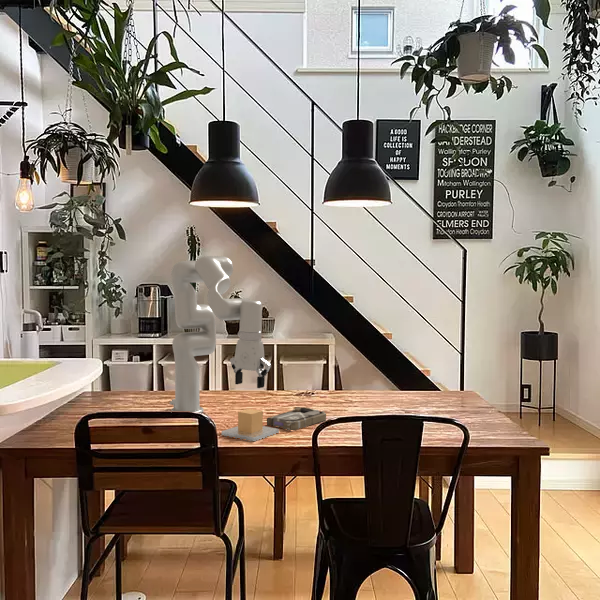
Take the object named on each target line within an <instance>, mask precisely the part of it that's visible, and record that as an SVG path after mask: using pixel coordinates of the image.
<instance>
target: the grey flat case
mask: <svg viewBox="0 0 600 600" xmlns="http://www.w3.org/2000/svg"><path fill="white" fill-rule="evenodd" d="M326 420H327V413H326V412H325V411H324V410H323V411H320V410H318V409H313V408H310V407H303V406H302V407H301V406H297V407H295V408H294V409H292V410H289V411H286V412H283V413H278V414H275V415H273V416H270V417H266V426H268V425H271V426H270V427H275V426H278V427H277V428H279V427H283V428H282V429H283V430H284V429H287V430H295V431H297V430H296V429H298V430H300V429H299V428H301V429H303V427H304V428H307V427H309V425H310V426H312V425H314V424H315V425H316V424H319V423H321V422H325V421H326ZM272 425H273V426H272ZM306 426H307V427H306ZM287 430H286V431H287Z"/></svg>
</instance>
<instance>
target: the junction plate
mask: <svg viewBox="0 0 600 600" xmlns="http://www.w3.org/2000/svg"><path fill="white" fill-rule="evenodd" d="M279 430H280V429H279V428H276V427H272V426H265V425H263V430H260V431H257V432H253V433H249V432H243V431H238V425H237V426H235V427H230V428H228V429H224V430H221V436H222V435H224V437H227V436H229V437H228V438H232V437H235V438H234V439H237V438H240V439H239V440H242V439H246V440H245V441H247V440H250V441H249V442H251V441H255V442H257V441H260V440H263V439H266V438H268V437H267V436H269V437H271V436H270V435H272V436H274V435H273V434H275V435H277V434H276V433H278V434H279V433H280V431H279ZM265 437H266V438H265ZM262 438H263V439H262ZM259 439H260V440H259ZM256 440H257V441H256Z"/></svg>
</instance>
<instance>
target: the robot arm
mask: <svg viewBox="0 0 600 600" xmlns="http://www.w3.org/2000/svg"><path fill="white" fill-rule="evenodd" d="M233 272H234V265H233V262H232V261H231V259H230V258H228V257H227V256H224V255H219V256H218V255H204V256H201V257H199V258H198V259H196V260H181V261H178V262H175V264H174V265H173V266H172V268H171V272H170V279H171V280H170V281H171V284H172V285H171V286H172V288H173V292H174V309H175V310H174V312H175V315H174V317H175V323H176V326H177V327H178V328H179V329H183V330H187V329H190V330H192V329H193V330H194V329H199V331H188V332H187V331H186V332H181V333H178V334H176V335H175V336H174V337H173V339H172V343H171V345H172V346H171V347H172V353H173V356H174V374H175V375H174V378H175V379H174V381H175V382H174V384H175V385H174V386H175V387H174V389H175V390H174V393H175V394H174V396H175V397H174V398H173V399H171V400H170V401H169V405H171V406H173V407H172V408H171V411H190V412H200V413H199V414H202V413H203V412H204V407H202V406H200V403H201V402H200V397H201V396H200V393H201V392H200V366H199V363H198V362H197V360H196V358H195V357H197V356H208V355H212V354H213V353H214V352H215V350H216V347H217V330H216V329H217V327H216V322H217V321H216V318H217V319H219V320H221V321H239V331H238V332H237V336H238V337H239V339H237V341H236V346H235V353H234V356H233V357H232V358H230V359H229V362H230V365H231V368H232V370H233V373H234V374H235V375H234V376H235V377H234V380H235V381H234V383H235V385H241V384H243V377H244V376H243V375H244V373H243V370H244V371H251V372H252V371H253V372H254V371H255V372H256V374H257V375H258V376H257V377H256V378H257V379H256V381H257V382H256V388H257V389H262V388H264V387H265V377H266V376H267V374H268V373H269V372H270V369H271V367H272V365H271V363H269V361H267V360H266V359H265V348H264V341H263V340H262V336H263V335H262V331H263V329H262V327H263V320H262V319H263V304H262V302H261V301H259V300H253V299H250V298H247V297H246V298H245V297H242V298H241V297H240V298H238V297H236V298H223V295H224V294H225V293H226V292H228V290H229V289H230V287H231V285H232V281H231V278H230V277H231V276H232V275H233ZM191 283H196V284H197V283H198V284H199V283H203V284H204V285H205V286H206V287H207V288H208V292H207V303H208V304H203V303H202V304H201V303H200V304H198V301H197V292H196V290H195V288H194V286H193V285H192V284H191Z"/></svg>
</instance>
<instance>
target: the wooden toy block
mask: <svg viewBox="0 0 600 600" xmlns="http://www.w3.org/2000/svg"><path fill="white" fill-rule="evenodd" d="M237 412H238V413H237V426H238V431H243V432H249V433H253V432H257V431H260V430H263V426H264V425H263V422H264V421H263V420H264V419H263V417H264V416H263V412H264V411H263V410H259V409H253V408H247V409H243V410H240V411H239V410H238V411H237Z"/></svg>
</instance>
